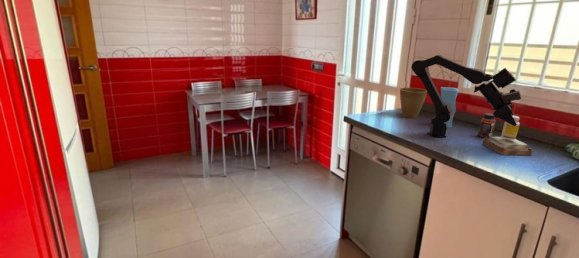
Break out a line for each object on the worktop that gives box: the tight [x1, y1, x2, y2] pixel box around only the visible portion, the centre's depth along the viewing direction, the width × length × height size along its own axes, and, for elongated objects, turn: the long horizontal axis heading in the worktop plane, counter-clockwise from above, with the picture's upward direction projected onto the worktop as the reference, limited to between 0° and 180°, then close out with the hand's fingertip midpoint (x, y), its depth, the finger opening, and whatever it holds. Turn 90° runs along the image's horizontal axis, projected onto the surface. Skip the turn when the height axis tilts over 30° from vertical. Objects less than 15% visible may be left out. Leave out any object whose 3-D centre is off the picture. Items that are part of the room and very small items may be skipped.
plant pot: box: [399, 87, 428, 119], centre depth 186 cm, size 15×15×16 cm
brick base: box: [482, 136, 533, 156], centre depth 139 cm, size 13×13×4 cm
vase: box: [440, 86, 460, 129], centre depth 169 cm, size 8×8×20 cm
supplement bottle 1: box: [477, 112, 496, 139], centre depth 154 cm, size 6×6×11 cm
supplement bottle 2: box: [500, 115, 521, 140], centre depth 136 cm, size 5×5×10 cm
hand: (515, 124), depth 135 cm, fingers closed on supplement bottle 2, 5 cm apart
